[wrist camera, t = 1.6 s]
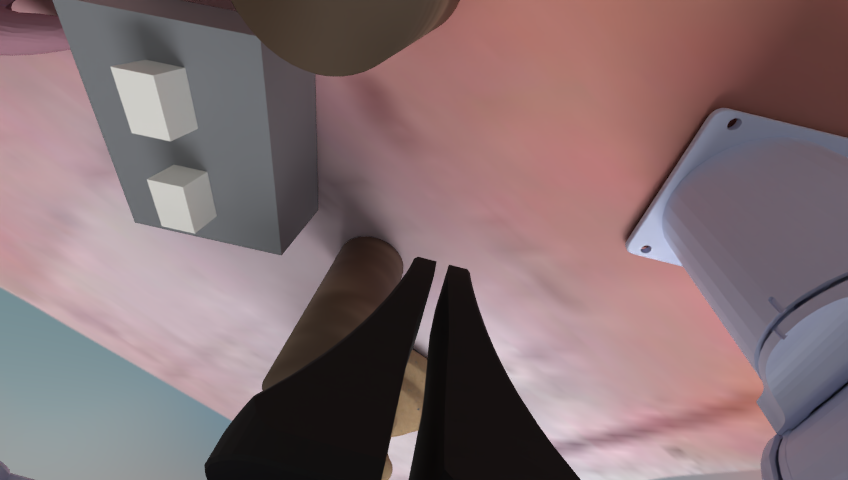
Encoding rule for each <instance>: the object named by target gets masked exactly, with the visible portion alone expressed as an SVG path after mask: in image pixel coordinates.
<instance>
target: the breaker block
mask: <svg viewBox="0 0 848 480" xmlns="http://www.w3.org/2000/svg"><path fill="white" fill-rule="evenodd" d="M52 1H53V3H54V6H55V9H56V11H57V14H58V17H59V19H60V22H61V25H62V27H63V30H64V33H65V35H66V38H67V41H68V44H69V46H70V49H71V52H72V54H73V57H74V60H75V62H76V65H77V68H78V70H79V73H80V76H81V78H82V81H83V84H84V87H85V89H86V92H87V95H88V97H89V100H90V103H91V105H92V108H93V111H94V113H95V116H96V119H97V121H98V124H99V127H100V129H101V132H102V135H103V138H104V140H105V143H106V146H107V148H108V151H109V154H110V156H111V159H112V162H113V164H114V167H115V170H116V172H117V175H118V178H119V181H120V183H121V186H122V189H123V191H124V194H125V197H126V199H127V202H128V205H129V207H130V210H131V213H132V215H133V218H134V221H135V222H136V223H140V224H144V225H149V226H153V227H158V228H162V229H167V230H171V231H176V232H180V233H184V234H189V235H193V236H198V237H202V238H207V239H211V240H216V241H220V242H224V243H229V244H233V245H238V246H242V247H247V248H251V249H256V250H260V251H264V252H269V253H273V254H278V255H282V254H283V253H284V251H285V250H286V249H287V248H288V247H289V245H290V244H291V243H292V242H293V240H294V239H295V238H296V237H297V235H298V234H299V233H300V232H301V230H302V229H303V228H304V227H305V226H306V224H307V223H308V222H309V221H310V219H311V218H312V217H313V216H314V214H315V213H316V212H317V211H318V182H317V134H316V86H315V74H314V73H311V72H308V71H305V70H302V69H300V68H298V67H296V66H294V65H292V64H290V63H288V62H287V61H285V60H284V59H282V58H280V57H279V56H278V55H276V54H275V53H274V52H273V51H271V50H270V49H269V48H268V47H267V46H265V45H264V44H263V43H262V42H261V41H260V40H259V39H258V38H257V37H256V35H255V34H254V33H253V32H252V31H251V30H250V28H249V27H248V26H247V25H246V23H245V22H244V20H243V19H242V17H241V16H240V15H239V13H238V12H237V11H233V10H228V9H223V8H218V7H213V6H207V5H202V4H197V3H192V2H187V1H182V0H52Z"/></svg>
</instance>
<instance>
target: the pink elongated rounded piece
mask: <svg viewBox="0 0 848 480" xmlns="http://www.w3.org/2000/svg"><path fill="white" fill-rule="evenodd" d="M14 1H15V0H0V55H33V54H42V53H50V52H57V51H64V50H71V49H70V46H69V44H68V41H67V38H66V35H65V33H64V30H63V27H62V25H61V22H60V19H59V17H58V16H53V15H45V14H35V13H18V12H15V11H12V9H11V6H12V3H13V2H14Z"/></svg>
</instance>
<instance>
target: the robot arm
mask: <svg viewBox="0 0 848 480" xmlns="http://www.w3.org/2000/svg"><path fill="white" fill-rule="evenodd" d="M735 118H737V121H736V123H735V124H734V125H733V126H731V127H729V128H727V125H728V123H729V122H730V121H731V120H732V119H735ZM625 246H626V249H627V250H628V252H630V253H632V254H635V255H639V256H643V257H647V258H651V259H655V260H659V261H663V262H667V263H671V264H675V265H679V266H683V267H684V268H685V270H686V271H687V273H688V274H689V276H690V277H691V279H692V280H693V282H694V283H695V284H696V286H697V287H698V289H699V290H700V292H701V293H702V295H703V296H704V297H705V299H706V300H707V302H708V303H709V305H710V306H711V308H712V309H713V310H714V312H715V313H716V315H717V316H718V318H719V319H720V321H721V322H722V324H723V325H724V326H725V328H726V329H727V331H728V332H729V334H730V335H731V337H732V338H733V339H734V341H735V342H736V344H737V345H738V347H739V348H740V350H741V351H742V352H743V354H744V355H745V357H746V358H747V360H748V361H749V363H750V364H751V366H752V367H753V368H754V370H755V371H756V373H757V374H758V376H759V377H760V379H761V380H762V382H763V385H764V390H763V393H762V395H761V396H760V397H759V399H758V400H757V404H758V405H759V407H760V408H761V410H762V412H763V413H764V415H765V416H766V418H767V419H768V421H769V422H770V424H771V426H772V427H773V429H774V430H775V432H776V433H777V435H775V436H774V437H773V438H772V439H770V440H769V441H768V443H767V445H766V446H765V448H764V450H763V453H762V459H761V474H762V480H848V138H847V137H843V136H839V135H835V134H831V133H827V132H823V131H819V130H815V129H810V128H806V127H802V126H798V125H794V124H790V123H786V122H782V121H778V120H774V119H770V118H766V117H762V116H758V115H754V114H750V113H745V112H741V111H737V110H733V109H729V108H719V109H716V110H715V111H713V112H712V113H711V114H710V115H709V116H708V117H707V119H706V120H705V122H704V123H703V125H702V126H701V128H700V129H699V131H698V133H697V134H696V136H695V137H694V139H693V140H692V142H691V143H690V145H689V146H688V148H687V149H686V151H685V152H684V154H683V155H682V157H681V159H680V160H679V162H678V163H677V165H676V166H675V168H674V169H673V171H672V172H671V174H670V175H669V177H668V178H667V180H666V182H665V183H664V185H663V186H662V188H661V189H660V191H659V192H658V194H657V195H656V197H655V198H654V200H653V201H652V203H651V204H650V206H649V208H648V209H647V211H646V212H645V214H644V215H643V217H642V218H641V220H640V221H639V223H638V224H637V226H636V227H635V229H634V230H633V232H632V234H631V235H630V237H629V238H628V240H627V241H626V244H625ZM643 246H648V247H647V248H646V249H641V248H642V247H643ZM435 267H436V261H432V260H428V259H424V258H421V257H417V258H415V259H414V260H413V262H412V264H411V266H410V268H409V269H408V271H407V273H406V274H405V275H404V277H403V278H402V280H401V281H400V282H399V283H398V285H397V286H396V287H395V288H394V290H393V291H392V292H391V293H390V294H389V296H388V297H387V298H386V299H385V300H384V301H383V302H382V303H381V304H380V305H379V306H378V307H377V308H376V309H375V311H374V312H373V313H372V314H371V315H370V316H369V317H367V318H366V319H365V320H364V321H363V322H362V323H361V324H360V325H359V326H358V327H356V328H355V329H354V330H353V331H352V332H351V333H350V334H348V335H347V336H346V337H345V338H343V339H342V340H341V341H339V342H338V343H337V344H336V345H334V346H333V347H332V348H330V349H329V350H328V351H326V352H325V353H324V354H322V355H321V356H319V357H318V358H316V359H315V360H313V361H312V362H310V363H309V364H307V365H306V366H304V367H303V368H301V369H300V370H298V371H297V372H295V373H293V374H292V375H290V376H288V377H287V378H285V379H283V380H281V381H280V382H278V383H276V384H274V385H272V386H271V387H269V388H267V389H265V390H264V391H262V392H260V393H258V394H256V395H255V396H253V397H252V399H251V400H250V401H249V402H248V403H247V404H246V405H245V406H244V408H243V409H242V410H241V411H240V412H239V413H238V415H237V416H236V417H235V418H234V420H233V421H232V422H231V424H230V425H229V427H228V428H227V429H226V431H225V432H224V433H223V435H222V437H221V438H220V440H219V442H218V443H217V445H216V447H215V448H214V450H213V452H212V453H211V455H210V457H209V458H208V460H207V462H206V463H205V473H206V477H207V480H381V479H382V475H383V471H384V466H385V462H386V457H387V453H388V448H389V443H390V438H391V434H392V429H393V424H394V420H395V415H396V410H397V406H398V401H399V396H400V392H401V387H402V383H403V378H404V374H405V369H406V366H407V363H408V360H409V357H410V354H411V351H412V348H413V345H414V342H415V339H416V336H417V333H418V330H419V326H420V323H421V319H422V316H423V312H424V309H425V305H426V302H427V298H428V295H429V291H430V288H431V284H432V281H433V277H434V273H435ZM0 480H34V479H30V478H26V477H23V476H19V475H15V474H12V473H10V470H9V469H8V467H7V466H6V465H5V464H4V463H2V462H1V461H0ZM409 480H580V478H579V477H578V476H577V475H576V473H575V472H574V471H573V470H572V469H571V467H570V466H569V465H568V464H567V462H566V461H565V460H564V459H563V457H562V456H561V455H560V454H559V452H558V451H557V450H556V449H555V448H554V446H553V445H552V444H551V442H550V441H549V439H548V438H547V437H546V435H545V434H544V432H543V431H542V430H541V428H540V427H539V425H538V424H537V422H536V421H535V419H534V418H533V416H532V415H531V413H530V412H529V410H528V408H527V407H526V405H525V404H524V402H523V401H522V399H521V398H520V396H519V394H518V393H517V391H516V389H515V388H514V386H513V384H512V382H511V380H510V379H509V377H508V375H507V373H506V371H505V369H504V367H503V366H502V364H501V362H500V360H499V357H498V355H497V353H496V351H495V349H494V347H493V344H492V342H491V340H490V337H489V335H488V332H487V330H486V327H485V325H484V322H483V319H482V316H481V313H480V311H479V308H478V304H477V301H476V298H475V294H474V291H473V287H472V282H471V278H470V273H469V271H468V270H467V269H463V268H460V267H456V266H452V265H449V267H448V270H447V273H446V276H445V280H444V283H443V286H442V289H441V293H440V296H439V299H438V302H437V305H436V309H435V314H434V318H433V323H432V328H431V333H430V339H429V349H428V359H427V369H426V379H425V390H424V400H423V407H422V414H421V419H420V425H419V430H418V435H417V440H416V445H415V451H414V456H413V461H412V466H411V471H410V476H409Z"/></svg>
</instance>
